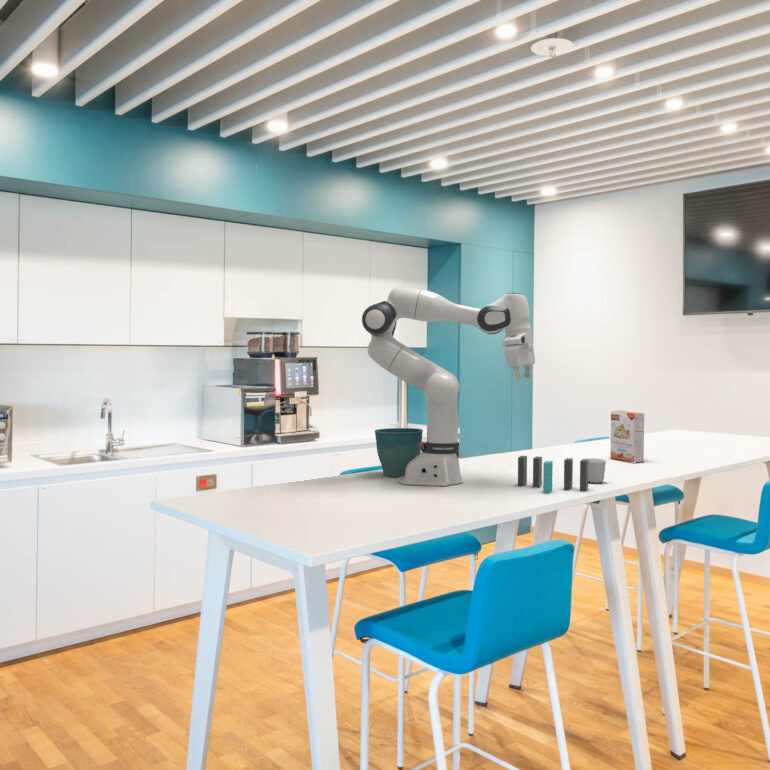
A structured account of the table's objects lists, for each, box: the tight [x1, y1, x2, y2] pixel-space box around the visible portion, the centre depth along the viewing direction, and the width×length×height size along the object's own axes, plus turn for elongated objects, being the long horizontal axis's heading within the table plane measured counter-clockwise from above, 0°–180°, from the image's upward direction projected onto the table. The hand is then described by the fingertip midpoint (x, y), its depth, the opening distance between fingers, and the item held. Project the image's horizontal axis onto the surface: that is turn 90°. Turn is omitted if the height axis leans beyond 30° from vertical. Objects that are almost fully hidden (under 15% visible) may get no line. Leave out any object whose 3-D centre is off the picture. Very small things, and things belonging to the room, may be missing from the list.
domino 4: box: [579, 458, 589, 492], centre depth 247 cm, size 2×5×10 cm, turn 157°
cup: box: [586, 457, 607, 484], centre depth 263 cm, size 11×8×8 cm
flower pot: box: [374, 427, 424, 478], centre depth 276 cm, size 18×18×17 cm
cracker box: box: [610, 410, 645, 464], centre depth 314 cm, size 14×6×21 cm, turn 25°
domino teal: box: [542, 460, 554, 494], centre depth 244 cm, size 2×5×10 cm, turn 157°
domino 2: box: [532, 456, 543, 489], centre depth 254 cm, size 2×5×10 cm, turn 157°
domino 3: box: [563, 457, 574, 491], centre depth 249 cm, size 2×5×10 cm, turn 157°
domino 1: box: [517, 455, 528, 487], centre depth 256 cm, size 2×5×10 cm, turn 157°
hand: (523, 378), depth 257 cm, fingers open, 8 cm apart
